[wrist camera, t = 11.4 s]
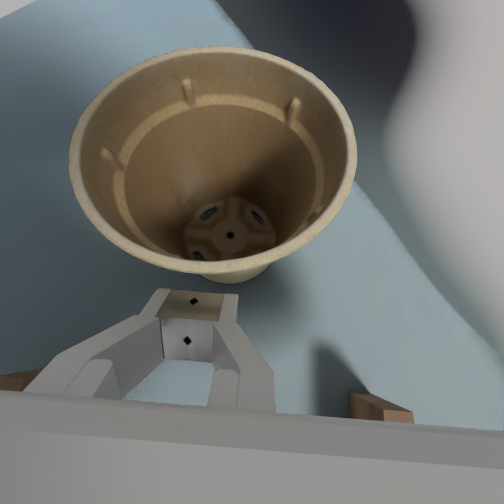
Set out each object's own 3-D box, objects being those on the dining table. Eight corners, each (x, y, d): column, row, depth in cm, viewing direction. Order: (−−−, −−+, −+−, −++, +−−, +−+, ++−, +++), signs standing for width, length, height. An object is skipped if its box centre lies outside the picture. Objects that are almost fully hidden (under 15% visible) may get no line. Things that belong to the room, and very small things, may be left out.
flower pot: (203, 161, 18) (169, 17, 10) (321, 208, 17) (389, 89, 9) (131, 269, 15) (-2, 189, 7) (267, 336, 14) (294, 334, 6)
